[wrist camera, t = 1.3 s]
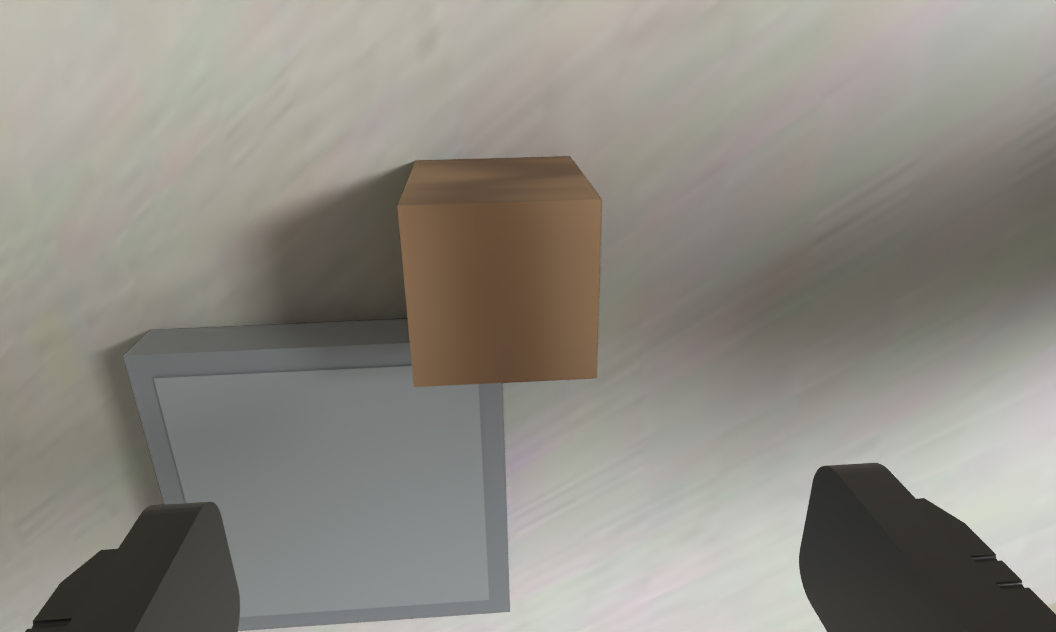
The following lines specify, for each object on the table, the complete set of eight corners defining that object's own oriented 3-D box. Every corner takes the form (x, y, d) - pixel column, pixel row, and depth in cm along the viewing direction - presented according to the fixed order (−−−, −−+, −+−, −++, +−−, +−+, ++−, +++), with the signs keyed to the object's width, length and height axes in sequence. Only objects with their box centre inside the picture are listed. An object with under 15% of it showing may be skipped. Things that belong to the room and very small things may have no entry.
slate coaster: (498, 314, 24) (501, 340, 22) (507, 574, 29) (510, 614, 27) (150, 329, 23) (121, 357, 22) (217, 594, 28) (199, 635, 26)
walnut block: (569, 155, 22) (601, 199, 17) (568, 298, 24) (596, 378, 19) (415, 160, 22) (397, 205, 16) (426, 304, 24) (413, 387, 18)
